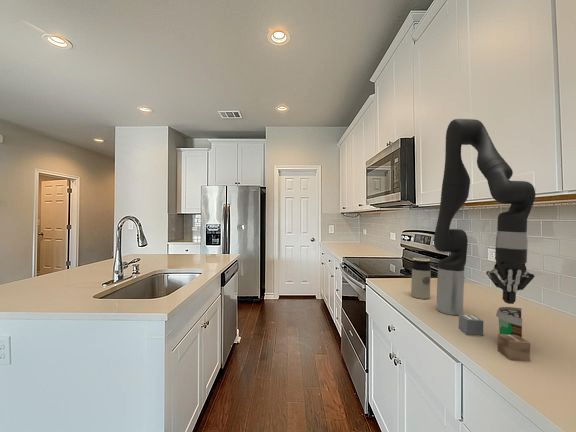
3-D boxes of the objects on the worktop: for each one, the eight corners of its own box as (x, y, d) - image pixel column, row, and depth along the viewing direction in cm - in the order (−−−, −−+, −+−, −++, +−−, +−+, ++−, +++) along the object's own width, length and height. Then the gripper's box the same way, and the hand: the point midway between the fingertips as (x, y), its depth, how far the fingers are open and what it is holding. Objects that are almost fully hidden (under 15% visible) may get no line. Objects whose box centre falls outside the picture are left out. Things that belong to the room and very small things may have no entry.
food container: (496, 333, 91) (497, 303, 91) (520, 339, 88) (521, 308, 87) (493, 347, 82) (495, 313, 82) (521, 354, 78) (522, 319, 78)
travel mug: (408, 294, 135) (409, 257, 135) (425, 294, 135) (426, 257, 135) (415, 299, 127) (416, 260, 127) (433, 299, 127) (434, 260, 127)
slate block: (458, 329, 95) (458, 314, 95) (473, 329, 95) (474, 314, 94) (466, 335, 90) (467, 319, 90) (482, 336, 90) (483, 320, 90)
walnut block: (497, 351, 80) (497, 333, 80) (515, 352, 79) (516, 334, 79) (509, 360, 75) (510, 341, 75) (529, 361, 74) (530, 342, 74)
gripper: (524, 245, 88) (522, 300, 88) (480, 244, 89) (478, 298, 89) (544, 248, 80) (542, 308, 81) (496, 247, 81) (494, 306, 81)
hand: (508, 302), depth 85 cm, fingers closed
